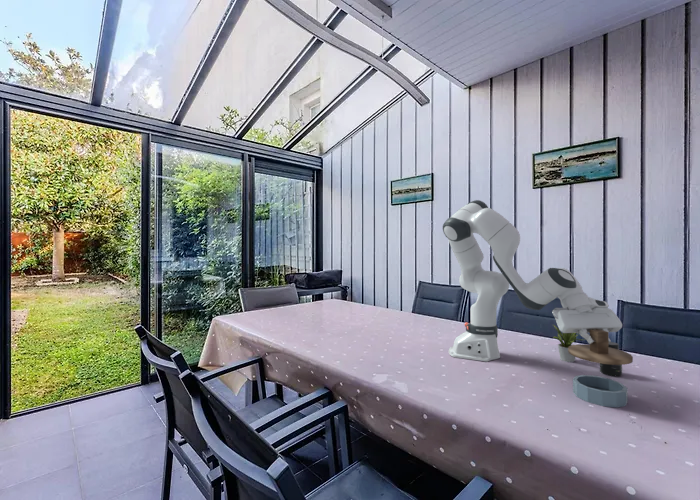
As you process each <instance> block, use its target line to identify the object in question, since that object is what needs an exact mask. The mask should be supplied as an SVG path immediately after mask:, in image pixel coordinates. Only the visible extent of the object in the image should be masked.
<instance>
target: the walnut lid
mask: <svg viewBox="0 0 700 500" xmlns="http://www.w3.org/2000/svg"><path fill="white" fill-rule="evenodd" d="M589 335H590V336H591V337H594V338H595V340H596V343H594V344H586V343H585V344H583V343H580V344H571V346H569V347H568V352H569V354H571V355H572V356H574V357H575V358H577V359H580V360H583V361H587V362H591V363H596V364H600V363H602V364H611V365H622V366H623V365H631V364H633V362H634V357H633V355H632V354H631V353H629V352H626V351H624V350H621V349H614V348H610V347H608V337H609V336H608V332H606V331H603V330H600V329H595V330H590V333H589Z"/></svg>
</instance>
